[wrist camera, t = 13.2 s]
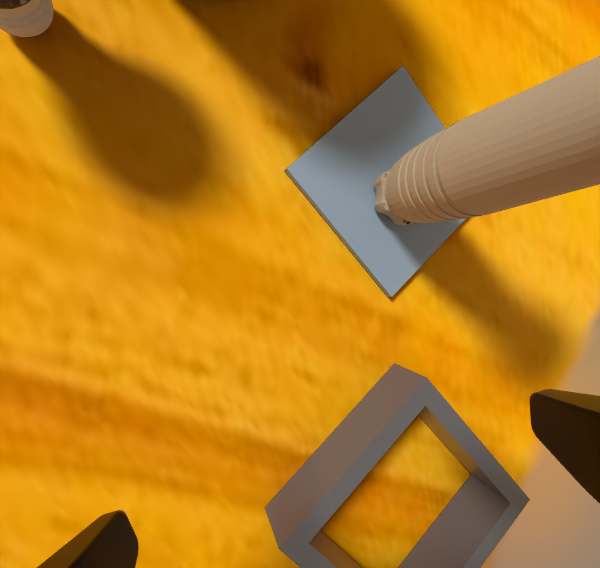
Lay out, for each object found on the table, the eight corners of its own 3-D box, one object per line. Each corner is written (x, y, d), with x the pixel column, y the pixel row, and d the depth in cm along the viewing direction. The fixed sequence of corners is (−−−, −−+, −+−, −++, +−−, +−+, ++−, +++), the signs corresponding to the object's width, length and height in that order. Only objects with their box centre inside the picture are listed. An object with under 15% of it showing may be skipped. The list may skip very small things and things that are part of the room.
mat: (387, 296, 21) (391, 297, 21) (284, 171, 19) (286, 168, 19) (482, 195, 23) (488, 194, 22) (398, 70, 21) (403, 65, 20)
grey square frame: (382, 609, 22) (411, 660, 19) (264, 507, 20) (278, 549, 17) (488, 471, 24) (529, 499, 21) (394, 363, 22) (426, 378, 19)
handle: (445, 238, 22) (968, 166, 7) (345, 242, 20) (795, 155, 5) (441, 154, 21) (972, -89, 7) (339, 150, 19) (794, -202, 5)
